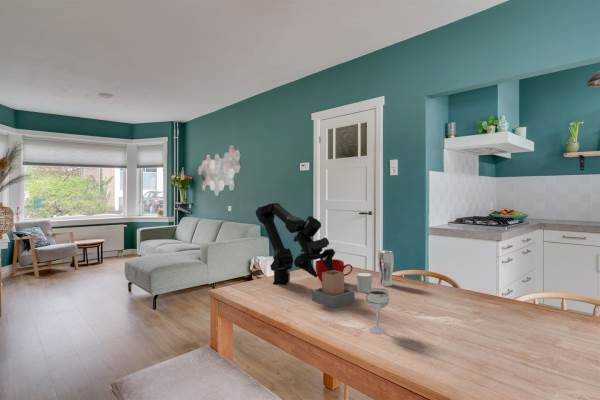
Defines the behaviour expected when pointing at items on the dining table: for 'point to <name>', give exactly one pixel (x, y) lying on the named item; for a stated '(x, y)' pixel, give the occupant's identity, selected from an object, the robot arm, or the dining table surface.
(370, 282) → the white cylindrical piece
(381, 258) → the beer glass
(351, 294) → the grey square tray
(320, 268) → the ceramic cup
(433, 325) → the dining table surface
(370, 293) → the wineglass
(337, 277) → the terracotta bin
